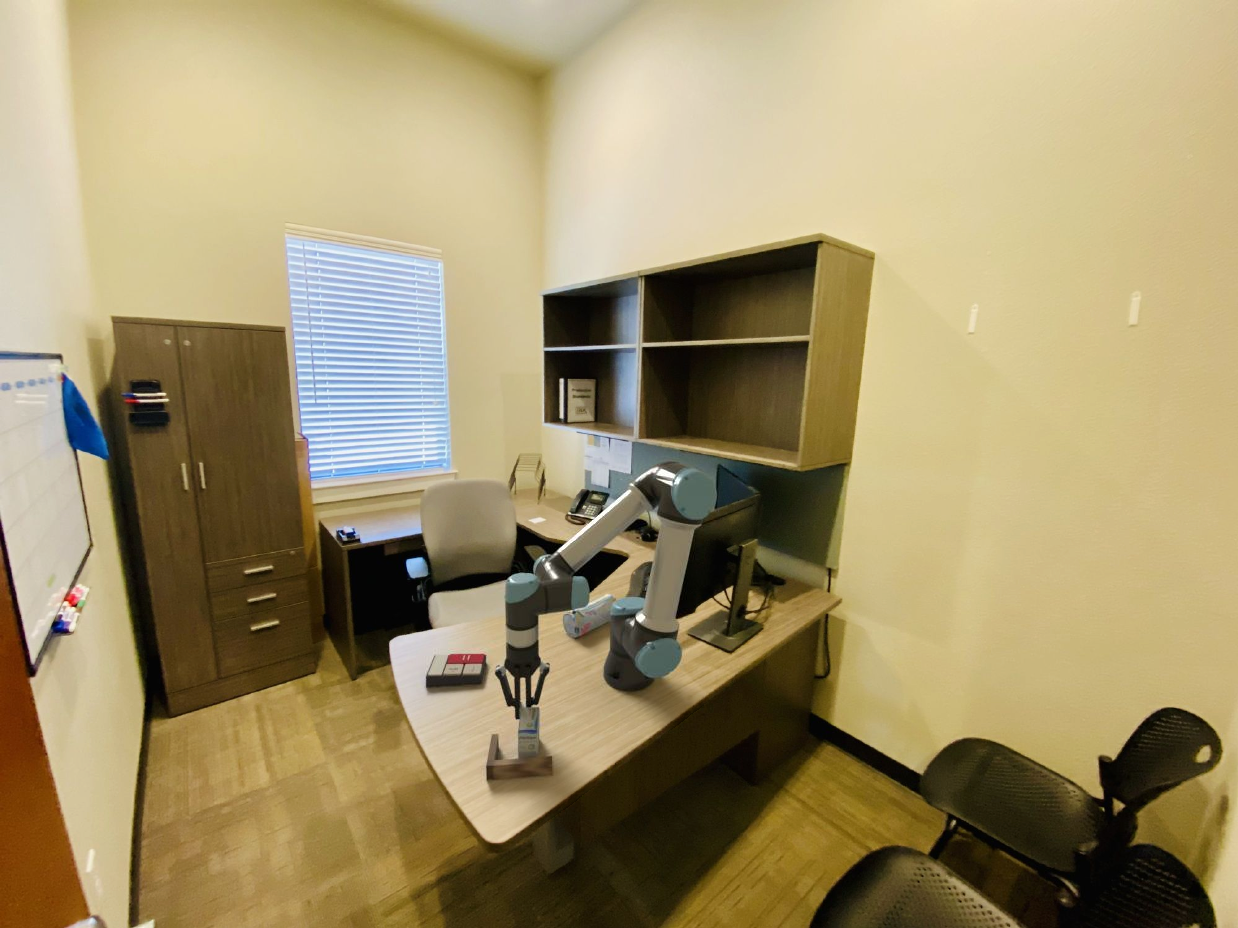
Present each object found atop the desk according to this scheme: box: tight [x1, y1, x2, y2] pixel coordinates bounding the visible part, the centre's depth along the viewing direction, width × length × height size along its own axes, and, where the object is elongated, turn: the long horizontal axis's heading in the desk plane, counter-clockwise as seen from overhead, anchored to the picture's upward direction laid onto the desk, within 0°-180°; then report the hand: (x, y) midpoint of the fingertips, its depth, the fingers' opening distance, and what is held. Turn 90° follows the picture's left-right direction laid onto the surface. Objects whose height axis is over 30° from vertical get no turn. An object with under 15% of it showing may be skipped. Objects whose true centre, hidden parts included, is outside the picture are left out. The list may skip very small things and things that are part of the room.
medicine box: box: [517, 706, 541, 759], centre depth 113 cm, size 8×4×9 cm, turn 6°
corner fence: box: [485, 733, 553, 781], centre depth 111 cm, size 14×10×4 cm
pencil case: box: [562, 593, 617, 639], centre depth 170 cm, size 21×9×10 cm, turn 136°
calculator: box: [425, 653, 487, 689], centre depth 142 cm, size 11×4×15 cm
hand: (523, 729), depth 119 cm, fingers closed
